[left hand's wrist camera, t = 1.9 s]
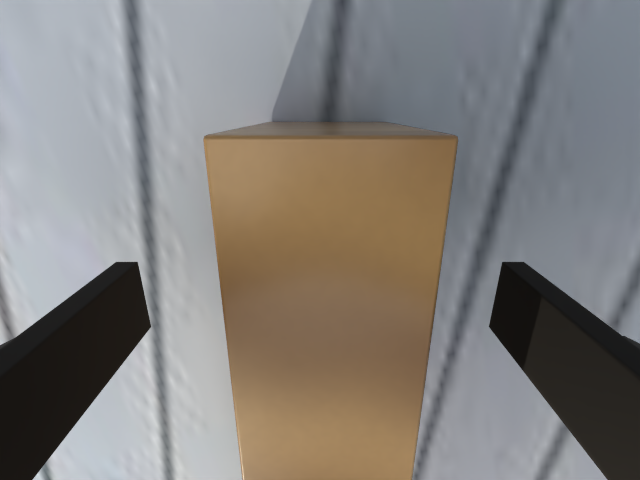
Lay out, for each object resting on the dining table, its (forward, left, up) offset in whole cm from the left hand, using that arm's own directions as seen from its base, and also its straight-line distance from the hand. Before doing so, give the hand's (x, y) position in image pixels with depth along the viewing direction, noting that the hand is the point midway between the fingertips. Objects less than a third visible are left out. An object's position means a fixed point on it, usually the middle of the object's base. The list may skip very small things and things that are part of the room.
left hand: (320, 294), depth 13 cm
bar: (-11, +31, -4) cm, 33 cm away
